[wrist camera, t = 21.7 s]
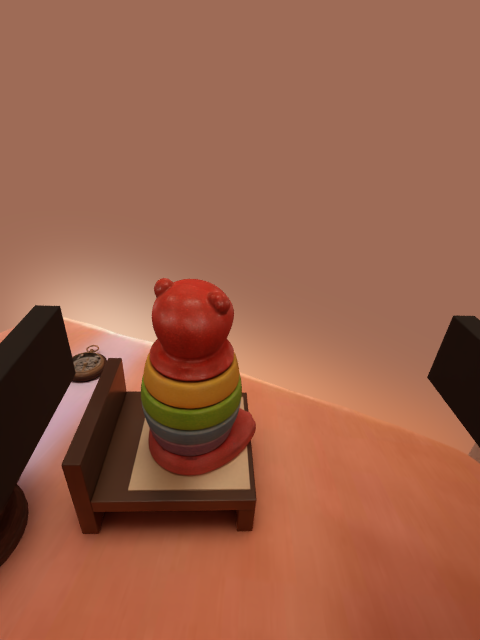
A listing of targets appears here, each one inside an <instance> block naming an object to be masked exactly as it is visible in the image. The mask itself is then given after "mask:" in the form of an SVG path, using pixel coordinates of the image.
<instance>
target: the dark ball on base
mask: <svg viewBox="0 0 480 640" xmlns="http://www.w3.org/2000/svg"><path fill="white" fill-rule="evenodd" d="M27 519H28V503H27V500H26V498H25V496H24V493H23V491H22V490H21V488H20V487H19V486H18V485H17V484H16V485H15V487H14V489H13V491H12V493H11V494H10V496H9V498H8V500H7V502H6V504H5V506H4V507H3V509H2V511H1V513H0V566H1V565H2V564H3V563H4V562H5V561H6V560H7V558H8V557H9V556H10V554H11V553H12V552H13V550H14V549H15V548H16V546H17V544H18V542H19V541H20V539H21V537H22V535H23V533H24V530H25V527H26V524H27Z"/></svg>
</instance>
